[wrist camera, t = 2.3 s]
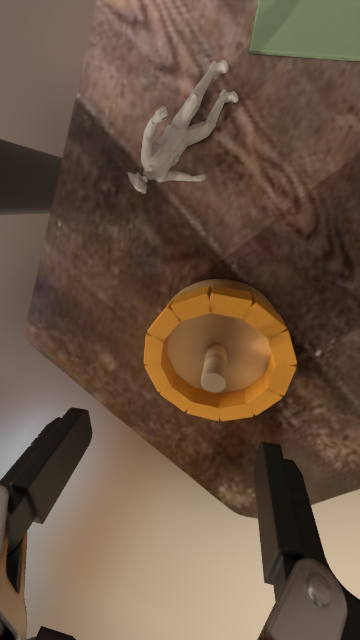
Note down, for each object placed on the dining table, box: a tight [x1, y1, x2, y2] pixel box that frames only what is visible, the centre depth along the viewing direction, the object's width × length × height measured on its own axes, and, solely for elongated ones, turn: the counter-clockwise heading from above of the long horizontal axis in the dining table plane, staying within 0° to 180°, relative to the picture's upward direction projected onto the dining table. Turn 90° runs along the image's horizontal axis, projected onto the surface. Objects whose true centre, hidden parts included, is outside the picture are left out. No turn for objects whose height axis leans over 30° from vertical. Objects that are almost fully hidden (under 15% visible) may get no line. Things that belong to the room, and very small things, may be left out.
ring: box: [144, 285, 297, 421], centre depth 29 cm, size 17×17×3 cm
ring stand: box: [166, 279, 277, 394], centre depth 29 cm, size 17×17×10 cm
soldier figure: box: [128, 60, 238, 194], centre depth 23 cm, size 8×5×12 cm
